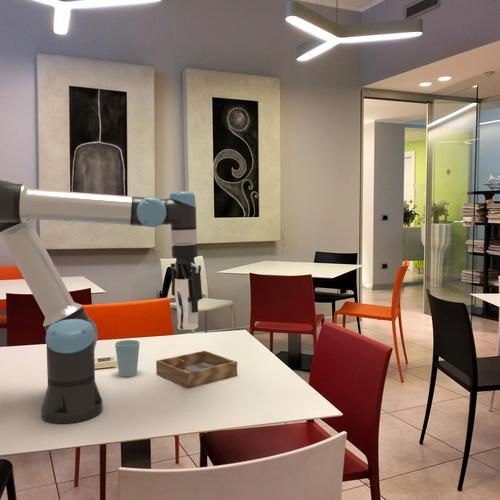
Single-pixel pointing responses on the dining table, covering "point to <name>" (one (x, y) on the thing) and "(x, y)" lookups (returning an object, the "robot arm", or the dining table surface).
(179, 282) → the shiny metal cylinder
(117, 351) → the cup
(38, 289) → the robot arm
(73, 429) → the dining table surface
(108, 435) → the dining table surface
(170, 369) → the caddy
